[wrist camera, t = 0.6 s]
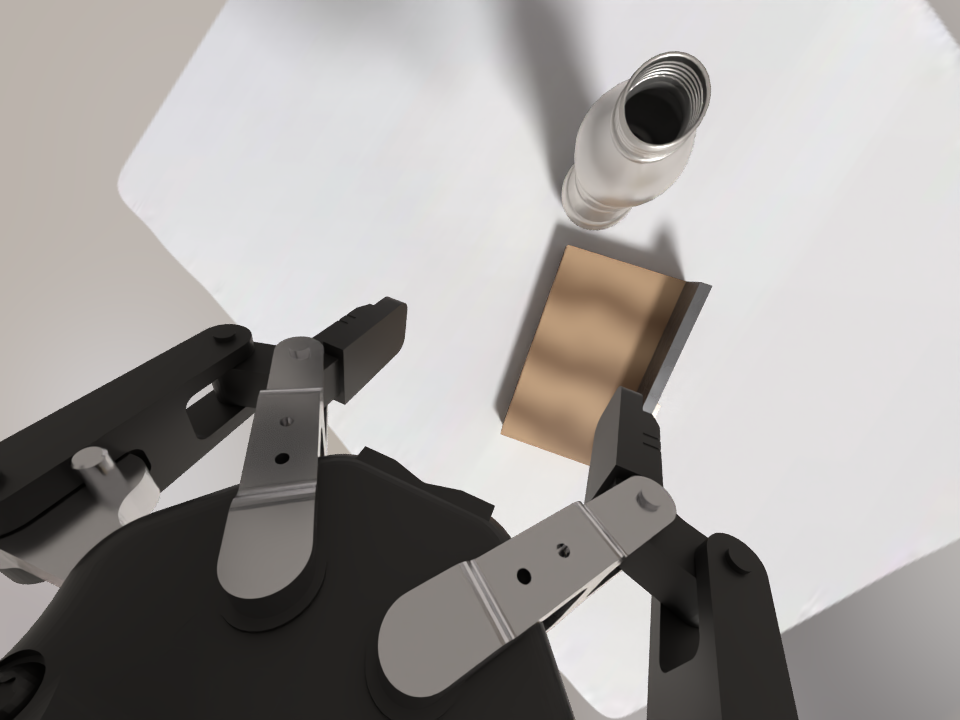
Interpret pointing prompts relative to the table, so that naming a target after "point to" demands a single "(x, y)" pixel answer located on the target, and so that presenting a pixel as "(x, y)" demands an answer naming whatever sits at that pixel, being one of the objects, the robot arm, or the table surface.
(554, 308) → the shelf board
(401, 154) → the table surface
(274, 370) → the robot arm
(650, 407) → the rail
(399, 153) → the table surface
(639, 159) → the silver bottle
